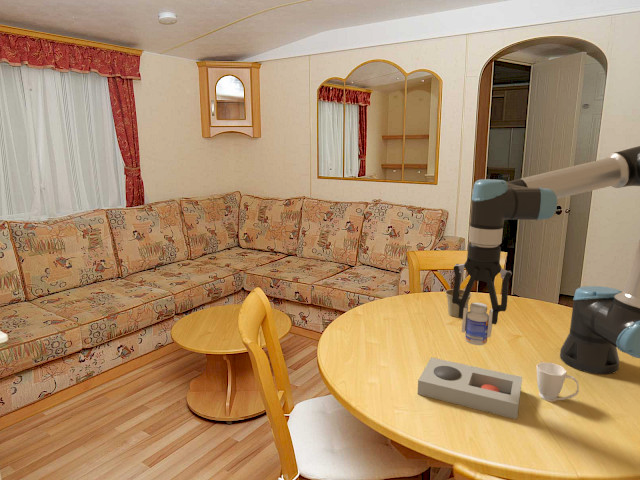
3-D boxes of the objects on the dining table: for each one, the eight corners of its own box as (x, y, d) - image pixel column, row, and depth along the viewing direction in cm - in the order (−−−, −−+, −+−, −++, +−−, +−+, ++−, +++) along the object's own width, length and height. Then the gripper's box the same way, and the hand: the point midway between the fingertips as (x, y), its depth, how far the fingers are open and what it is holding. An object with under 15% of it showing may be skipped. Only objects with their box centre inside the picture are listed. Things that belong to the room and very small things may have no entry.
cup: (534, 386, 121) (537, 359, 119) (576, 396, 117) (580, 368, 115) (532, 399, 115) (535, 371, 113) (576, 410, 111) (581, 381, 109)
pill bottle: (488, 346, 112) (492, 310, 109) (466, 344, 113) (469, 308, 110) (485, 337, 117) (488, 302, 115) (463, 335, 118) (466, 300, 116)
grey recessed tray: (520, 390, 119) (522, 375, 118) (516, 419, 107) (518, 403, 106) (430, 369, 130) (431, 356, 129) (417, 394, 118) (418, 379, 117)
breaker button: (499, 392, 117) (500, 386, 117) (497, 401, 113) (498, 395, 113) (481, 388, 119) (482, 382, 119) (479, 397, 115) (480, 391, 115)
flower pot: (439, 311, 173) (440, 290, 171) (460, 308, 176) (461, 287, 174) (453, 320, 165) (454, 298, 163) (475, 317, 167) (476, 295, 165)
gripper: (526, 244, 108) (516, 334, 114) (448, 236, 116) (442, 320, 122) (525, 251, 102) (514, 346, 107) (443, 242, 110) (436, 331, 115)
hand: (476, 332), depth 114 cm, fingers closed on pill bottle, 5 cm apart
